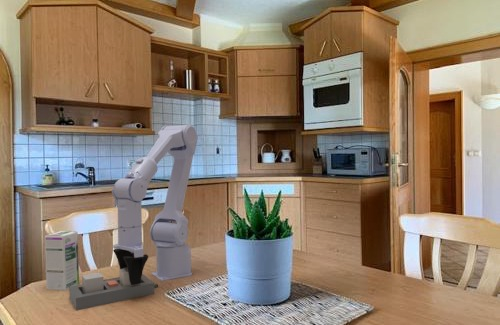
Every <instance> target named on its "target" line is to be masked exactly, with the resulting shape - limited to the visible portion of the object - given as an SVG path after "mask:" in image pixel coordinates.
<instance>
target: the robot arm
mask: <svg viewBox="0 0 500 325" xmlns="http://www.w3.org/2000/svg"><path fill="white" fill-rule="evenodd" d="M197 143H198V134H197V131H196V128H195V126H193V124H190V123H189V124H185V125H184V124H182V125H164V126H162V127H161V128H160V130H159V131H158V132H157V139H156V141H155V143H154V144H153V145H152V147H151V149H150V151H149V152H148V153H147V155H146V156H144V157H143V156H142V157H140V158H137V159H136V160H135V163H134V164H133V166H131V169H130V170H129V171H128V172H127V173H126V175H125V176H124V177H123V178H119V179H118V180H116V181H115V183H114V185H113V187H112V189H111V194H112V197H113V199H114V200H115V206H116V208H117V244H116V243H115V244H113V245H112V247H113V253H114V255H115V256H116V260H117V262H118V267H119V269H123V268H128V273H129V280H130V283H131V285H135V284H140V281H141V276H142V274H143V273H144V272H143V271H144V267H145V266H146V263H147V261H148V259H149V255H148V254H146V253H144V248H143V245H144V242H143V232H142V231H143V230H142V229H143V228H142V226H143V223H142V222H143V221H142V218H143V217H142V201H143V199H145V198H146V195H147V192H148V191H147V190H148V187H149V183H150V182H151V180H152V179H153V178H154V176H155V175H156V174H157V172H158V170H159V169H158V164H159V163H160V161H162V159H163V158H164V157H165V156H166V155H167V153H168V154H169V155H170V156H171V157H173V165H172V169H171V173H170V174H171V175H170V177H169V181H168V189H167V192H166V195H165V201H164V206H163V209H162V210H161V211H159V212H158V213H157V214H156V215H155V216H154V220H153V223H152V225H151V226H150V230H149V237H150V240H151V241H152V242H153V246H155V247H156V248H155V251H156V253H155V254H156V255H155V256H156V261H155V262H156V271H153V272H151V275H153V277H155V278H156V279H158V280H159V281H161V282H164V281H168V280H174V279H179V278H184V277H188V276H193V273H192V251H191V247H190V245H189V244H188V243H187V242H186V241H187V239H188V235H189V228H188V226H189V225H188V224H189V219H188V218H187V217H186V216H185V214H184V213H183V209H184V203H185V199H186V193H187V188H188V184H189V179H190V173H191V169H192V163H193V159H194V155H195V152H196V149H197Z"/></svg>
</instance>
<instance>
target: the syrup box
mask: <svg viewBox="0 0 500 325" xmlns="http://www.w3.org/2000/svg"><path fill="white" fill-rule="evenodd" d="M78 235H79V234H78V231H75V230H59V231H57V232H53V233H50V234H46V235H45V236H44V245H45V246H44V251H45V256H44V257H45V275H46V277H45V279H46V290H50V291H51V290H55V291H68V290H69V287H72V286H77V285H80V269H79V268H80V265H79V239H78V238H79V237H78Z"/></svg>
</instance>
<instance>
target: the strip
mask: <svg viewBox="0 0 500 325" xmlns="http://www.w3.org/2000/svg"><path fill="white" fill-rule="evenodd" d="M115 278H116V279H112V278H110V279H111V280H106V279H104V275H103V274H102V273H101V272H93V273H87V274H82V276H81V283H82V284H77V285H75V286H72V287H69V289H68V291H69V293H68V294H69V295H68V296H69V298H68V299H69V300H70V302H71V304H72V305H73V308H74V309H75V311H78V310H80V311H81V310H84V309H89V308H94V307H99V306H103V305H107V304H108V305H109V304H113V303H117V302H123V301H126V300H127V301H128V300H132V299H136V298H141V297H145V296H150V295H155V289H156V288H159V283H156V284H155V282H154V281H153V280H152V279H150V278H149V277H147V276H146V275H145V274H144V273H142V276H141V281H140V284H135V285H129V286H123V287H122V286H121V285H120V278H118V277H115ZM103 280H105V281H103Z"/></svg>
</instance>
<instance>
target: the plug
mask: <svg viewBox="0 0 500 325" xmlns="http://www.w3.org/2000/svg"><path fill="white" fill-rule="evenodd" d="M118 271H119V273H118V274H119V277H120V285H121V286H122V287H123V286H129V285H131V283H130V280H129V273H128V268H123V269H120V268H119V270H118Z"/></svg>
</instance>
